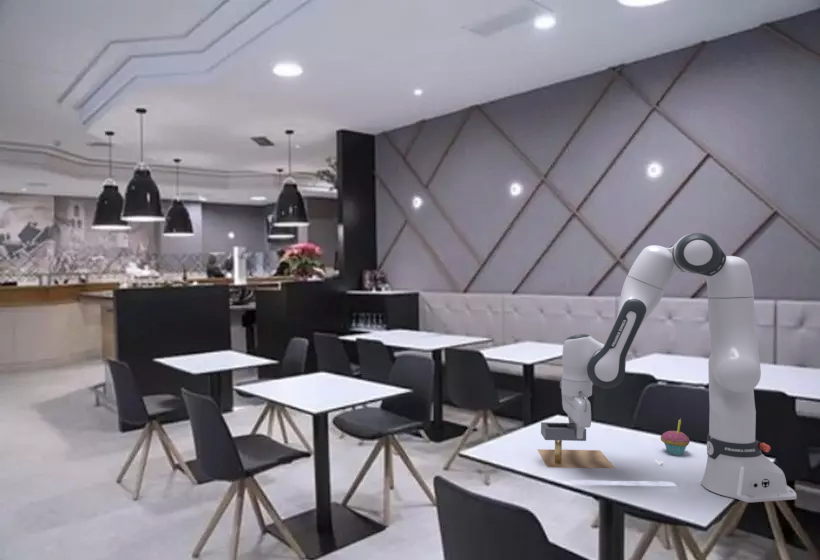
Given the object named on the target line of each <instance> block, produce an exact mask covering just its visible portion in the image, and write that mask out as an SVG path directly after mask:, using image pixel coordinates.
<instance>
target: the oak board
mask: <svg viewBox="0 0 820 560" xmlns="http://www.w3.org/2000/svg"><path fill="white" fill-rule="evenodd" d="M537 452H538V453H539V455H540V457H541V458H542V460H543V462H544V464H545V466H546V467H547V468H553V469H554V468H555V469H556V468H557V469H558V468H561V469H562V468H563V469H564V468H565V469H566V468H567V469H573V468H574V469H617V468H616V466H614V464H613V463H612V462H611V461H610V460H609V458H607V457H606V455H605V454H604V453H603V452H602V451H601V450H600V449H598V450H597V449H595V450H594V449H562V463H561V464H556V463H555V449H547V448H546V449H545V448H543V449H540V448H539V449H537Z"/></svg>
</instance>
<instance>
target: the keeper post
mask: <svg viewBox="0 0 820 560" xmlns="http://www.w3.org/2000/svg"><path fill="white" fill-rule="evenodd" d="M562 447H563V440H554V450H555V463H556V464H561V463H562V450H563V448H562Z"/></svg>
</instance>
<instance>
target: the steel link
mask: <svg viewBox="0 0 820 560" xmlns="http://www.w3.org/2000/svg"><path fill="white" fill-rule="evenodd" d="M576 431H577V427H576V423H569V422H549V421H548V422H544V421H542V422H541V423H540V435H541V436H542V437H543V439H544V440H545V441H555V440H562V441H572V442H573V441H575V442H576V441H577V442H586V441H587V429H586V428H585V429H584V432H583V438H582V439H578V438H577V437H576Z"/></svg>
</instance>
